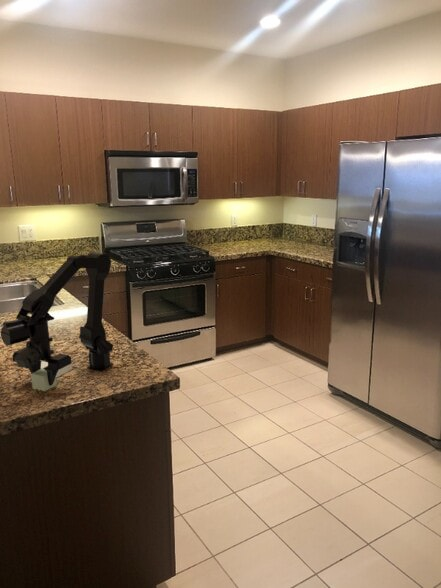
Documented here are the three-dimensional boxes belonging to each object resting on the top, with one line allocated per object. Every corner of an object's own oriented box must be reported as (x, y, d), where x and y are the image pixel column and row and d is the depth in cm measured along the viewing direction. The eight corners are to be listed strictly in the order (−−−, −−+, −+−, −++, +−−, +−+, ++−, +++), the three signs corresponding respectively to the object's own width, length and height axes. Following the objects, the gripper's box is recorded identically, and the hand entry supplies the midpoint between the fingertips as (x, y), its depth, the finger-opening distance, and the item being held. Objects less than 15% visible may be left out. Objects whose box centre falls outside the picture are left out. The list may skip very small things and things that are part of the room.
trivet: (72, 369, 161) (71, 360, 160) (53, 379, 153) (52, 370, 152) (51, 365, 165) (51, 357, 164) (32, 375, 157) (31, 366, 156)
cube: (56, 385, 149) (55, 370, 148) (45, 391, 145) (43, 376, 143) (44, 382, 151) (42, 367, 150) (32, 388, 146) (30, 373, 145)
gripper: (-5, 340, 140) (1, 389, 144) (43, 349, 133) (48, 400, 137) (23, 329, 150) (29, 375, 154) (70, 337, 143) (74, 384, 147)
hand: (44, 383), depth 148 cm, fingers closed on cube, 5 cm apart
